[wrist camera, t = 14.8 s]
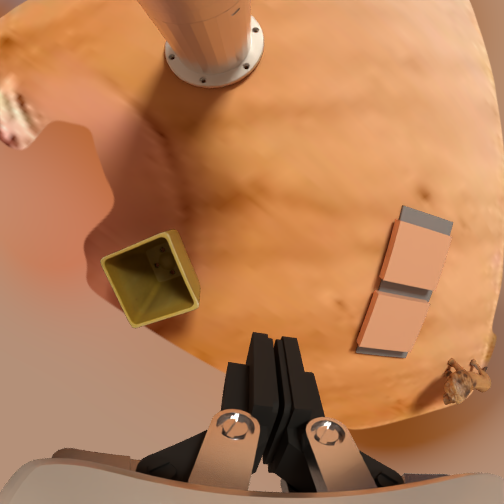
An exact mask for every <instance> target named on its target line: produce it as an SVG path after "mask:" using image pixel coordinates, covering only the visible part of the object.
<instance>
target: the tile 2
mask: <svg viewBox="0 0 504 504" xmlns="http://www.w3.org/2000/svg"><path fill="white" fill-rule="evenodd" d="M451 239H452V237H451V236H448V235H446V234H443V233H440V232H436V231H433V230H430V229H427V228H424V227H420V226H417V225H414V224H411V223H407V222H404V221H401V220H397V219H395V223H394V227H393V231H392V234H391V238H390V242H389V245H388V249H387V252H386V256H385V259H384V262H383V266H382V269H381V272H380V275H379V277H380V278H381V279H383V280H385V281H389V282H394V283H399V284H404V285H408V286H413V287H418V288H423V289H427V290H432V291H436V288H437V285H438V282H439V279H440V276H441V273H442V270H443V267H444V263H445V260H446V257H447V253H448V250H449V247H450V243H451Z"/></svg>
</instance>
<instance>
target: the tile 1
mask: <svg viewBox="0 0 504 504" xmlns="http://www.w3.org/2000/svg"><path fill="white" fill-rule="evenodd" d="M429 307H430V303H429V302H427V301H426V300H423V299H418V298H412V297H407V296H402V295H397V294H392V293H387V292H381V291H376V290H375V291H374V294H373V297H372V299H371V302H370V305H369V308H368V311H367V314H366V317H365V319H364V322H363V325H362V328H361V330H360V333H359V336H358V338H357V343H358V345H359V347H367V348H375V349H384V350H393V351H402V352H411V350H412V348H413V346H414V344H415V341H416V339H417V337H418V334H419V332H420V330H421V327H422V325H423V322H424V320H425V317H426V315H427V312H428V310H429Z"/></svg>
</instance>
